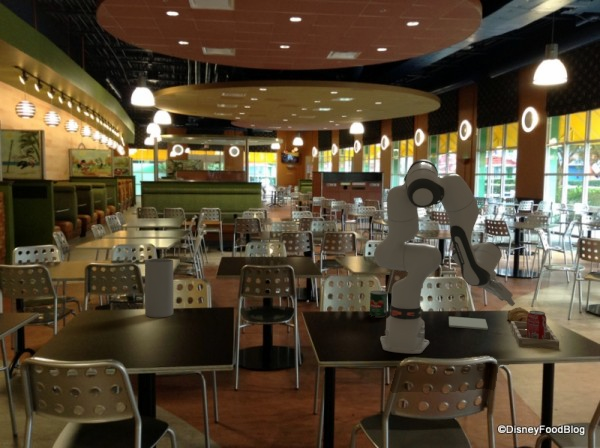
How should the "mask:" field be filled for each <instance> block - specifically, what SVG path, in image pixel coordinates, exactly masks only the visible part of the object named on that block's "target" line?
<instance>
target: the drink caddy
mask: <svg viewBox="0 0 600 448" xmlns="http://www.w3.org/2000/svg"><path fill="white" fill-rule="evenodd" d="M510 329H511V332H512V334H513V336H514V338H515V342H516V343H517V345H519V346H520V347H528V346H529V347H530V348H540V347H542V348H541V349H551V348H556V349H555V350H560V340H559V338H558V337H557V336H556V335H555V333H554V331H552V329H551V327H550V326H549V325H548V323H546V338H545V339H534V338H525V337H526V332H527V330H525V329H527V322H518V321H510ZM549 339H550V340H549ZM519 346H518V347H519Z"/></svg>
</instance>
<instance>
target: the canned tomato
mask: <svg viewBox="0 0 600 448" xmlns="http://www.w3.org/2000/svg"><path fill="white" fill-rule="evenodd" d="M369 292H370V293H369V316H370V315H371V316H370V317H372V316H375V317H374V318H386V317H387V313H388V311H387V307H388V292H387V291H384V290H371V291H369ZM385 316H386V317H385Z"/></svg>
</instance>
